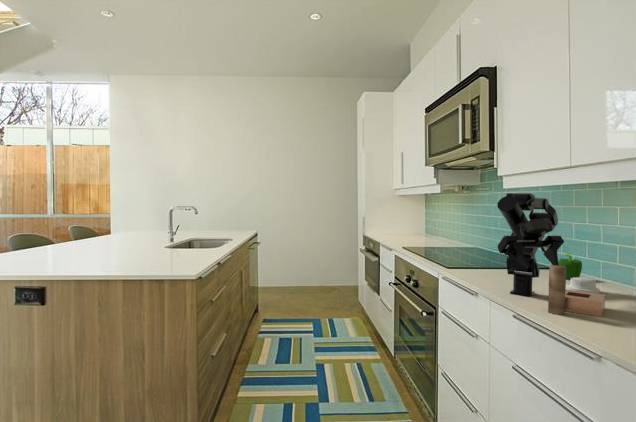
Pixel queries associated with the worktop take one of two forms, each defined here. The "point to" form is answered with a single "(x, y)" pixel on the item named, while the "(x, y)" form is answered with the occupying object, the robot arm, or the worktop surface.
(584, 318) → the worktop surface
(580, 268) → the bell pepper
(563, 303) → the pin
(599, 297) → the hollow square frame
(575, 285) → the mechanical component
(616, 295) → the worktop surface
